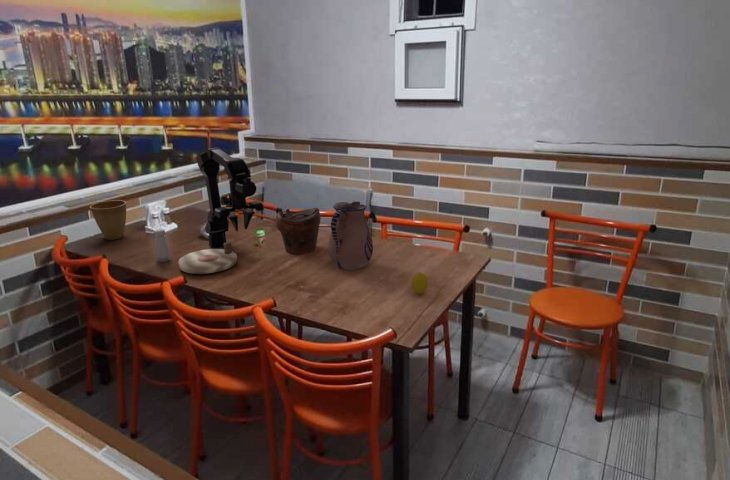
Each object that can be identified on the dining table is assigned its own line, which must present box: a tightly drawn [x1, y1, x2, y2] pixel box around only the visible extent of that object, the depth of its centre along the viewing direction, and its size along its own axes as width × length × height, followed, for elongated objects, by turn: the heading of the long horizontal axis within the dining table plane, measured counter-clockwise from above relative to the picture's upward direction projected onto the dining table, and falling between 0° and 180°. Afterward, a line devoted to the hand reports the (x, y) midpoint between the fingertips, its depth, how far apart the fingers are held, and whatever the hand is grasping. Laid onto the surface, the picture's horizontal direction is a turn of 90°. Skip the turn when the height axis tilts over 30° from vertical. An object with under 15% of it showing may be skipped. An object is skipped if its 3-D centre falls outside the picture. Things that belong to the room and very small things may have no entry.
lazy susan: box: [178, 241, 238, 275], centre depth 197 cm, size 22×22×6 cm
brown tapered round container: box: [275, 207, 322, 255], centre depth 213 cm, size 18×20×18 cm
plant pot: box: [89, 199, 127, 241], centre depth 231 cm, size 15×15×16 cm
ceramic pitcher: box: [327, 201, 374, 271], centre depth 191 cm, size 18×21×25 cm
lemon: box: [411, 272, 429, 295], centre depth 170 cm, size 6×6×8 cm
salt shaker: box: [153, 228, 171, 263], centre depth 202 cm, size 6×6×13 cm
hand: (241, 230), depth 199 cm, fingers open, 4 cm apart
